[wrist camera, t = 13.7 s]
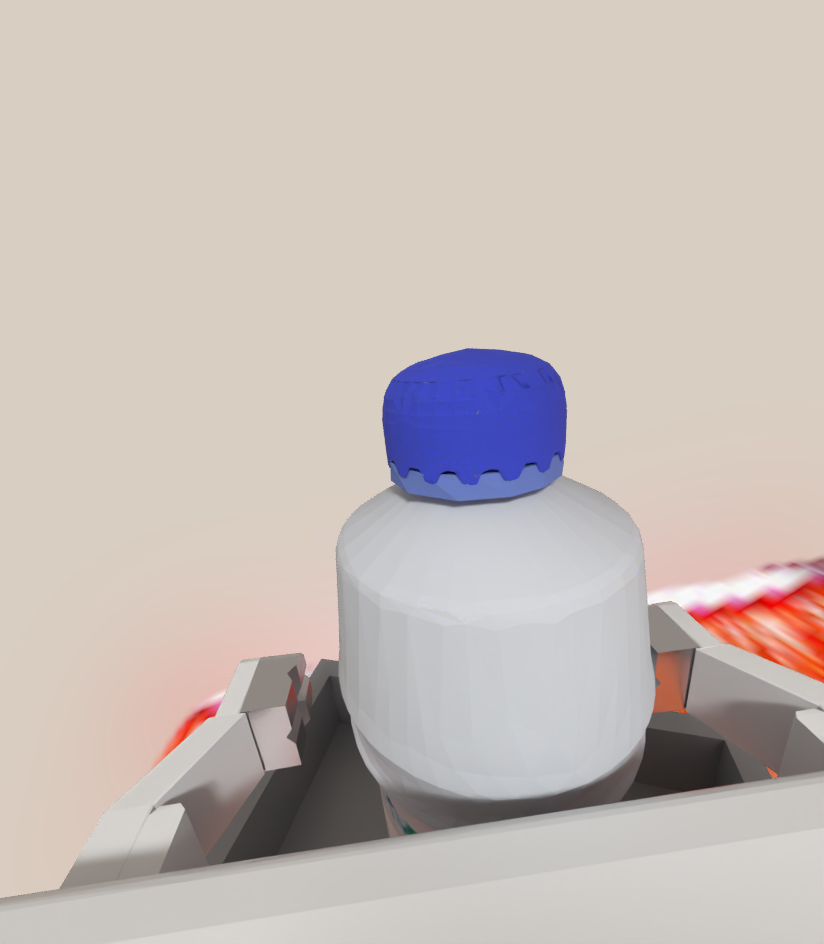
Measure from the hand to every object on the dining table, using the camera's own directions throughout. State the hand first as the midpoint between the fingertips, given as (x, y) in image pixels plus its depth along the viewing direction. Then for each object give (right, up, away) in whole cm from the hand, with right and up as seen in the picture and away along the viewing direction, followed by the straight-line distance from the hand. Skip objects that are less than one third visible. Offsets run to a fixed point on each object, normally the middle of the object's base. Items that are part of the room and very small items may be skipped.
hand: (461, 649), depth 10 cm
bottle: (+2, -12, +3) cm, 13 cm away
